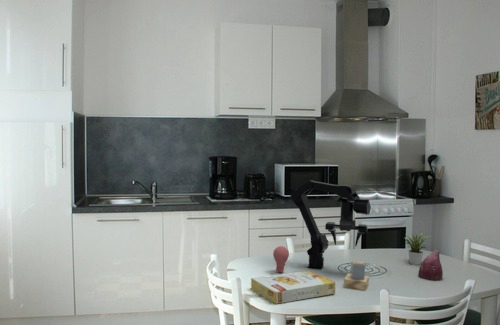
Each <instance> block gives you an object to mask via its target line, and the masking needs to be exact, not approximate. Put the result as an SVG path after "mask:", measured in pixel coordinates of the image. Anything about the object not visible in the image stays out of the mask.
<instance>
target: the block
mask: <svg viewBox="0 0 500 325" xmlns="http://www.w3.org/2000/svg"><path fill="white" fill-rule="evenodd" d="M369 280H370V277H369V275H364V280H360V279H352V278H351V273H347V274H346V276H345V278H344V280H343V288H344V289H349V288H351V289H352V290H357V289H360V290H359V291H364V290H366V291H367V289H368V287H369V283H370V282H369Z"/></svg>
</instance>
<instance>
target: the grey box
mask: <svg viewBox="0 0 500 325" xmlns="http://www.w3.org/2000/svg"><path fill="white" fill-rule="evenodd" d="M365 269H366V265H365V264H364V261H362V260H352V261H350V274H351V278H352V279H360V280H364V276H366V275H365V272H366V270H365Z"/></svg>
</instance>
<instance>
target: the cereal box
mask: <svg viewBox="0 0 500 325" xmlns="http://www.w3.org/2000/svg"><path fill="white" fill-rule="evenodd" d="M250 282H251V283H250V285H251V286H250V290H252V291H254V292H255V293H257V294H258V295H260V296H262V297H263V298H264V299H266V300H268V301H269V302H271V303H273V304H275V305H277V304H283V303H288V302H289V303H290V302H294V301H299V300H300V301H302V300H305V299H306V300H307V299H311V298H317V297H321V296H322V297H323V296H329V295H334V294H336V281H334V280H332V279H329V278H327V277H324V276H322V275H319V274H317V273H314V272H311V271H310V270H305V271H297V272H296V271H295V272H290V273H289V272H288V273H283V274H275V275H274V274H273V275H268V276H260V277H253V278H252V277H251V279H250Z"/></svg>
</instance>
